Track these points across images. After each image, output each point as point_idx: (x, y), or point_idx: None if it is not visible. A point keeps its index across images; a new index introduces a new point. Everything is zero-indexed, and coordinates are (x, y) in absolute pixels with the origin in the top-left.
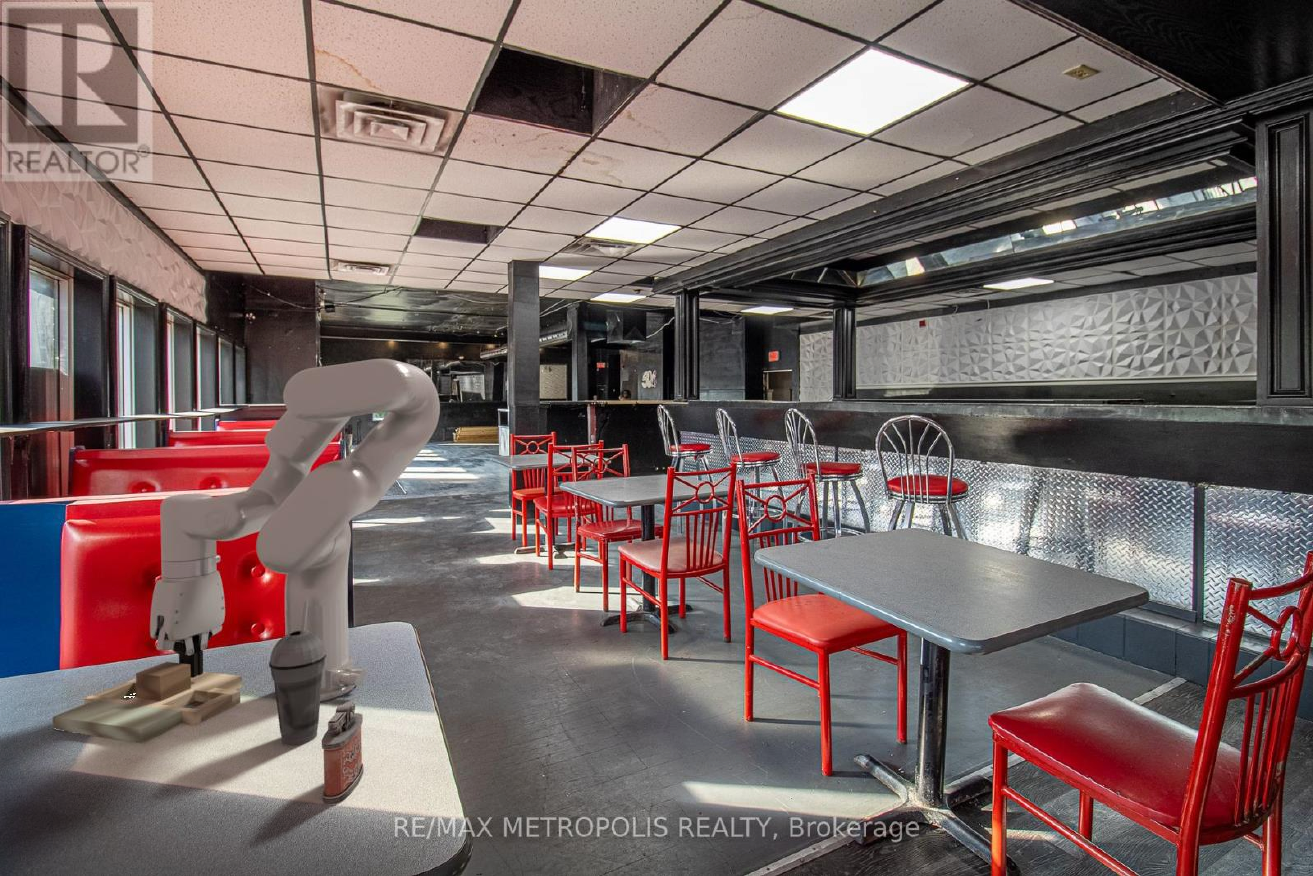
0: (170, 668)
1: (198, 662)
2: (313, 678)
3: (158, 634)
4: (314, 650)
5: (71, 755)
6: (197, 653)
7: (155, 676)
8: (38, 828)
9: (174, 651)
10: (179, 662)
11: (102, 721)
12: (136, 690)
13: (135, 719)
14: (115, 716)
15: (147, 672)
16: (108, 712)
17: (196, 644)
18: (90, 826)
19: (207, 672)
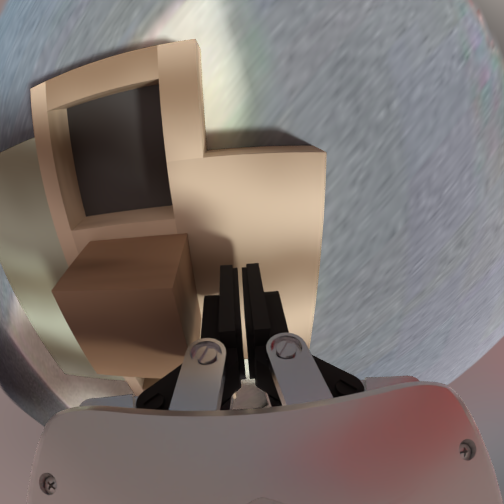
0: (140, 358)
1: (247, 351)
2: None
3: (91, 423)
4: None
5: (4, 299)
6: (250, 378)
7: (89, 360)
8: (6, 381)
9: (173, 370)
10: (202, 324)
11: (20, 296)
12: (79, 254)
13: (61, 342)
14: (37, 298)
15: (78, 322)
16: (30, 264)
17: (273, 388)
18: (33, 405)
19: (318, 253)
